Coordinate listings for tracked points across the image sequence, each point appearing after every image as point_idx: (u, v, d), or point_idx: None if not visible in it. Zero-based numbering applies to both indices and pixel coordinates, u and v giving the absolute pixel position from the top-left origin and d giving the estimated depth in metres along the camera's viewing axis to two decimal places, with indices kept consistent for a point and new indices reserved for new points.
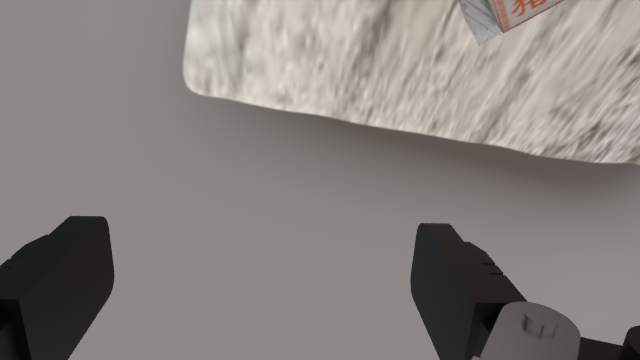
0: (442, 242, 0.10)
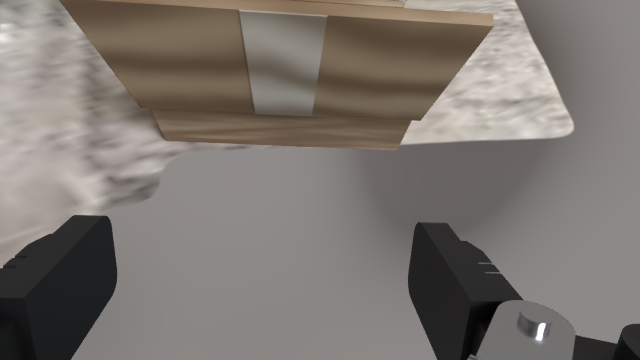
0: (439, 241, 0.10)
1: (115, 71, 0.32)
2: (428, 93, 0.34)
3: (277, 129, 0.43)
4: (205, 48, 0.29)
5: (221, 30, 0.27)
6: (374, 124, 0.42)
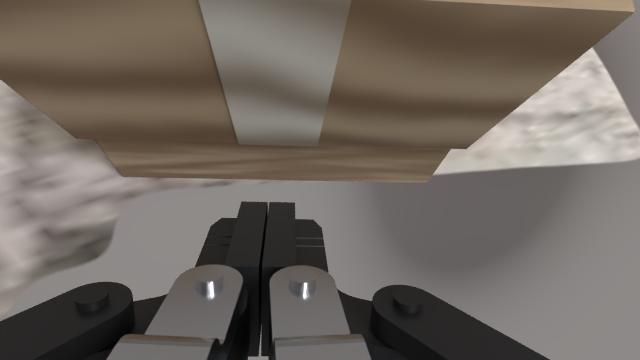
0: (274, 218, 0.11)
1: (20, 92, 0.21)
2: (488, 115, 0.24)
3: (270, 160, 0.32)
4: (149, 56, 0.18)
5: (170, 26, 0.16)
6: (401, 153, 0.31)
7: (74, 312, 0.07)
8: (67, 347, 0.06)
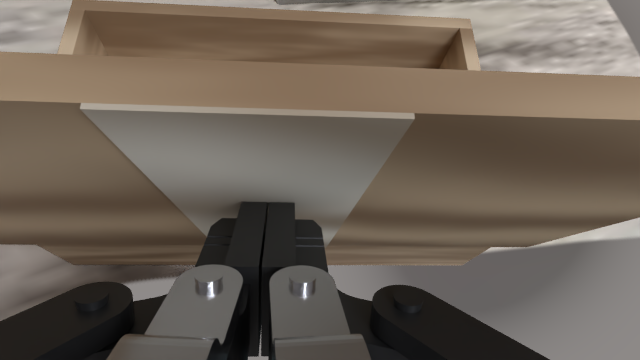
0: (274, 218, 0.11)
1: None
2: (579, 225, 0.16)
3: None
4: (44, 182, 0.10)
5: (59, 152, 0.08)
6: None
7: (74, 312, 0.07)
8: (68, 346, 0.06)
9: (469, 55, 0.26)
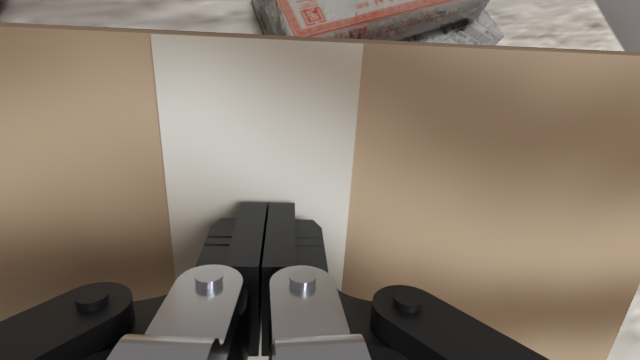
0: (274, 218, 0.11)
1: None
2: (593, 324, 0.15)
3: None
4: (67, 196, 0.12)
5: (107, 120, 0.11)
6: None
7: (74, 312, 0.07)
8: (68, 346, 0.06)
9: None
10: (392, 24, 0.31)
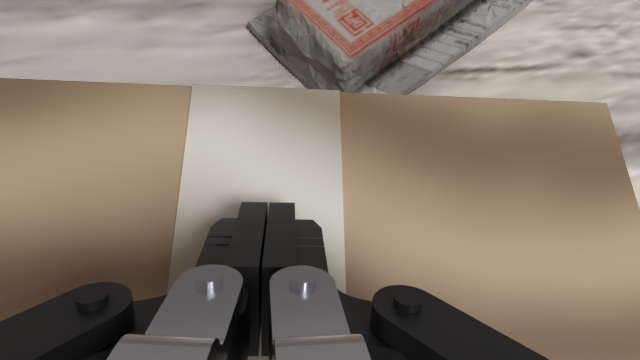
0: (274, 218, 0.11)
1: None
2: None
3: None
4: (87, 204, 0.13)
5: (144, 140, 0.14)
6: None
7: (74, 312, 0.07)
8: (67, 347, 0.06)
9: None
10: (443, 6, 0.25)
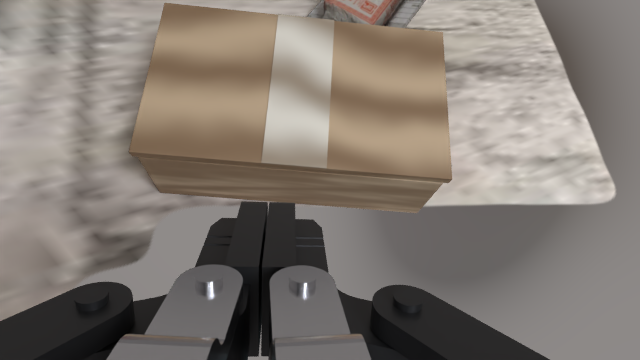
0: (274, 218, 0.11)
1: (148, 81, 0.35)
2: (436, 117, 0.36)
3: (285, 189, 0.38)
4: (242, 51, 0.37)
5: (261, 32, 0.38)
6: (395, 190, 0.37)
7: (74, 312, 0.07)
8: (67, 347, 0.06)
9: None
10: None
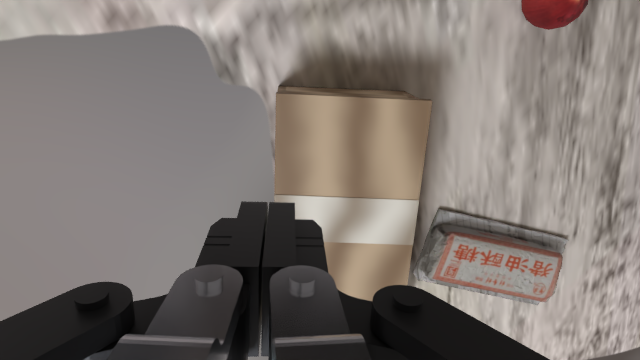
0: (274, 218, 0.11)
1: (344, 98, 0.40)
2: None
3: None
4: (378, 173, 0.43)
5: (399, 187, 0.43)
6: None
7: (74, 312, 0.07)
8: (67, 347, 0.06)
9: None
10: None
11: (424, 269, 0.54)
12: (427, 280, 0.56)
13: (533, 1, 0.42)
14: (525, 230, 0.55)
